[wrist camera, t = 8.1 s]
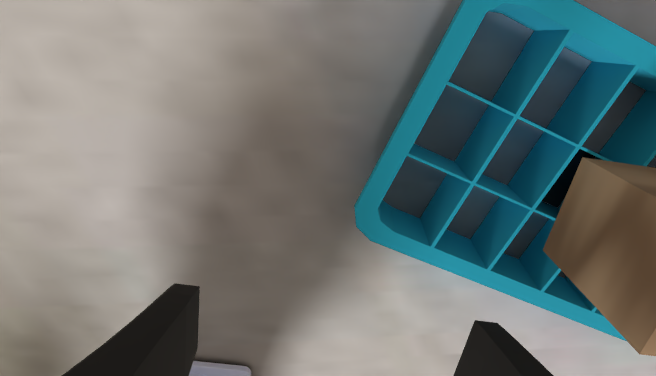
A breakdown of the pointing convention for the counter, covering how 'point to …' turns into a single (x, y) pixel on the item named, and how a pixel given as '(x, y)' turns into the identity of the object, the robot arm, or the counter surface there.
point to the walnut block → (612, 245)
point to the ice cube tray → (539, 166)
